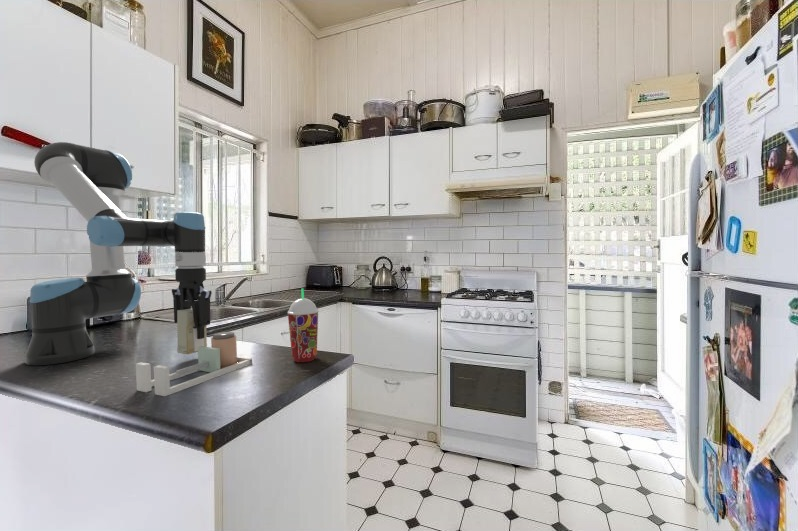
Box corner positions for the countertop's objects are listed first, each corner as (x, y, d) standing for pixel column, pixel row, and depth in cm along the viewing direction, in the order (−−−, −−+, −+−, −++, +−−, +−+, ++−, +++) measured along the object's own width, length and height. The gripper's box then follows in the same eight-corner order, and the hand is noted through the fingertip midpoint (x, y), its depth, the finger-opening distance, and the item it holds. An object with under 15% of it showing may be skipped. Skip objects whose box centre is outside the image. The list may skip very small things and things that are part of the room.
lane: (136, 390, 82) (135, 363, 81) (226, 360, 104) (226, 338, 104) (164, 396, 78) (163, 368, 78) (252, 363, 100) (251, 341, 100)
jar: (207, 369, 96) (205, 335, 96) (226, 362, 101) (224, 331, 101) (223, 371, 94) (222, 337, 93) (242, 364, 99) (241, 332, 99)
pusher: (168, 380, 87) (167, 355, 87) (202, 369, 95) (201, 346, 95) (187, 384, 84) (186, 358, 84) (220, 372, 92) (219, 348, 92)
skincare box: (187, 355, 101) (186, 311, 101) (176, 353, 103) (176, 310, 102) (207, 349, 107) (207, 308, 106) (197, 347, 109) (196, 306, 108)
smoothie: (315, 364, 99) (313, 289, 98) (284, 364, 99) (282, 290, 98) (322, 355, 107) (320, 286, 106) (294, 355, 107) (292, 287, 106)
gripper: (157, 267, 104) (159, 348, 105) (200, 268, 97) (202, 356, 98) (182, 266, 111) (184, 342, 112) (224, 267, 104) (225, 349, 105)
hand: (192, 348), depth 105 cm, fingers closed on skincare box, 4 cm apart
